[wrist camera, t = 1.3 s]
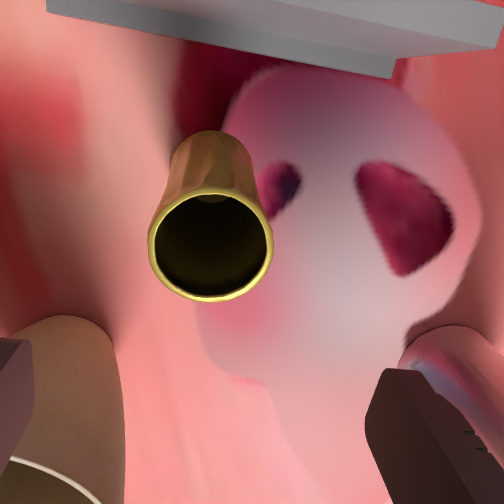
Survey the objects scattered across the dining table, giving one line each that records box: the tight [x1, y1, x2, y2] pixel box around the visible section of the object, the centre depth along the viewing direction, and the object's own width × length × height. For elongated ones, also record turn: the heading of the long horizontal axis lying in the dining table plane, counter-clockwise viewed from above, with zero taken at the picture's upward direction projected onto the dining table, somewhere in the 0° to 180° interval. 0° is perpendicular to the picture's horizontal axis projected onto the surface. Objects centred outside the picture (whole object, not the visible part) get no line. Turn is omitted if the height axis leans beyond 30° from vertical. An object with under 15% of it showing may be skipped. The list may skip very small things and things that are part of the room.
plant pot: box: [0, 315, 125, 504], centre depth 27 cm, size 15×15×16 cm
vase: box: [147, 130, 274, 303], centre depth 23 cm, size 6×6×14 cm
